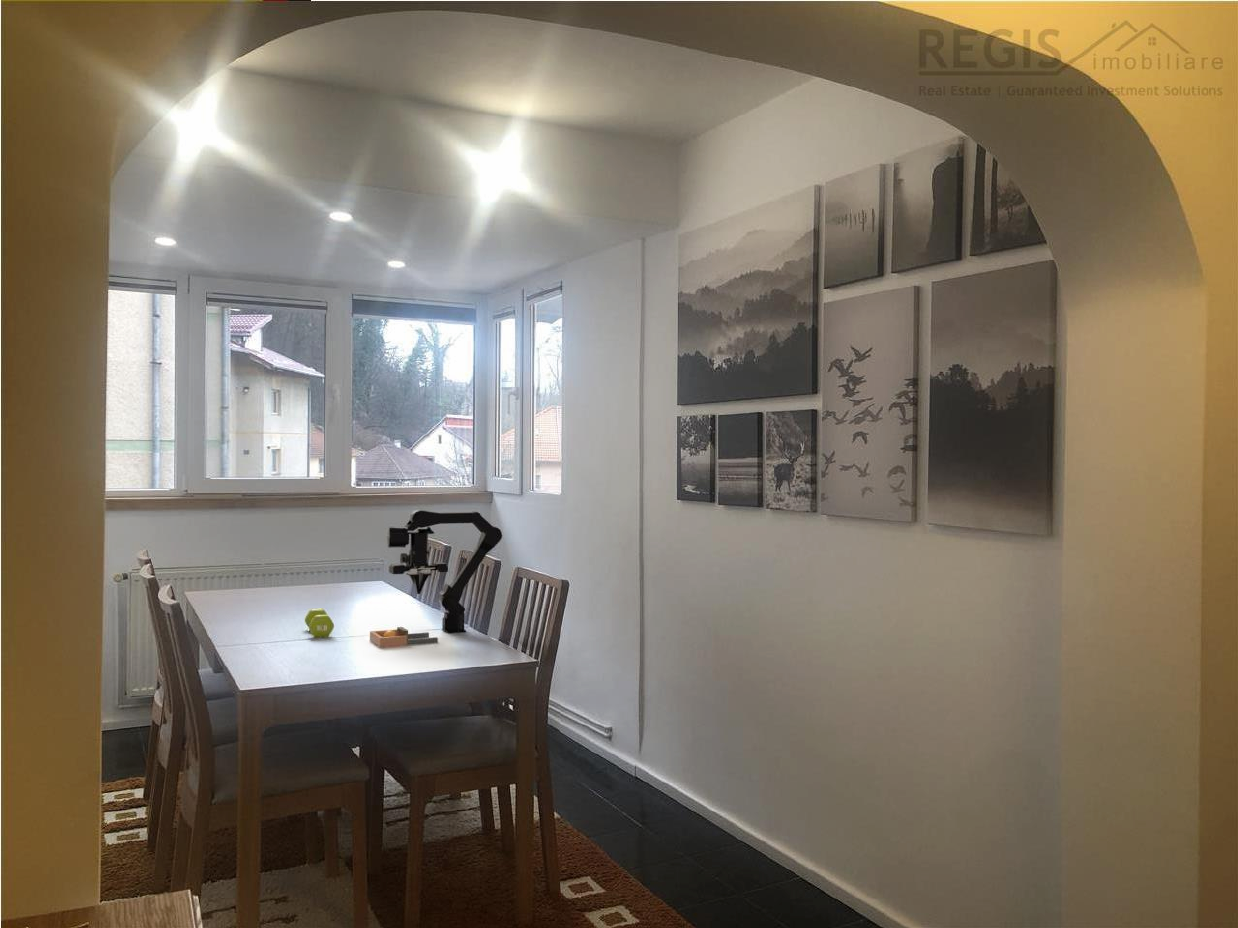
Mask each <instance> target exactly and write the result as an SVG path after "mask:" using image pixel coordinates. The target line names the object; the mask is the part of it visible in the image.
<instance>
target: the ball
mask: <svg viewBox="0 0 1238 928" xmlns="http://www.w3.org/2000/svg"><path fill="white" fill-rule="evenodd" d="M388 630H389V631H387V632H385V634H384V637H393V636H396V633H395V632H394V631H392V630H393V629H388Z"/></svg>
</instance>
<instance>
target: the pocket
mask: <svg viewBox="0 0 1238 928" xmlns="http://www.w3.org/2000/svg"><path fill="white" fill-rule="evenodd" d="M389 630H390V629H386V630H385V629H383V630H382V629H381V630H370V631H369V641H370V642H371V643H372V642H373V643H372V644H374V645H376V646H377V647H378V648H379V649H382V648H393V647H394V648H396V647H407V646H408V645H407V636H397V628H396V629H391V630H392V631H394V632H395V633H396V636H393V637H384V634H385V632H387V631H389Z"/></svg>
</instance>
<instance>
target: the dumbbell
mask: <svg viewBox="0 0 1238 928" xmlns="http://www.w3.org/2000/svg"><path fill="white" fill-rule="evenodd" d="M304 622H305V624H306V627H308V629H309V632H311V634H312V636H313V637H314V638H318V639H319V638H320V637H321V638H328V637H329V636H330V635H331V633H332V632H333V630H334V627H335V624H334V622H333V620H332V618H331V617H330V616H329V615H328V614H327V612H326V610H325V609H323V608H312V609H310V610H309V611H308V613H307V614H306V615H305V618H304Z"/></svg>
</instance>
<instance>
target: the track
mask: <svg viewBox="0 0 1238 928" xmlns="http://www.w3.org/2000/svg"><path fill="white" fill-rule="evenodd" d="M438 642H439V638H438V637H437V636H435V637H430V633H429V632H428V631H427V632H416V633H415V632H414V633H408V640H407V646H410V645H421V644H422V645H423V644H434V643H435V644H437V643H438Z"/></svg>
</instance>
